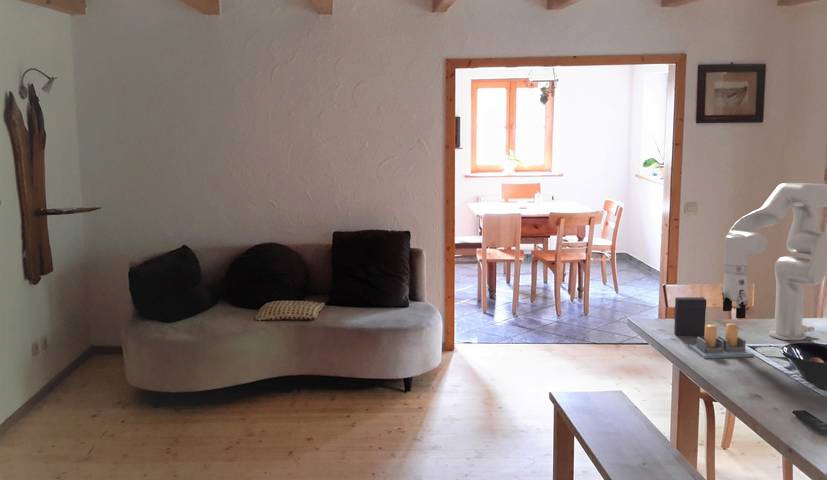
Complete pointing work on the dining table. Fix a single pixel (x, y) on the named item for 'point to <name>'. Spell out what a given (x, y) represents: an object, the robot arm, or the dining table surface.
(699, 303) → the dark grey slab
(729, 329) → the tan capsule rod
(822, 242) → the robot arm
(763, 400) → the dining table surface
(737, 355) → the housing
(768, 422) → the dining table surface
